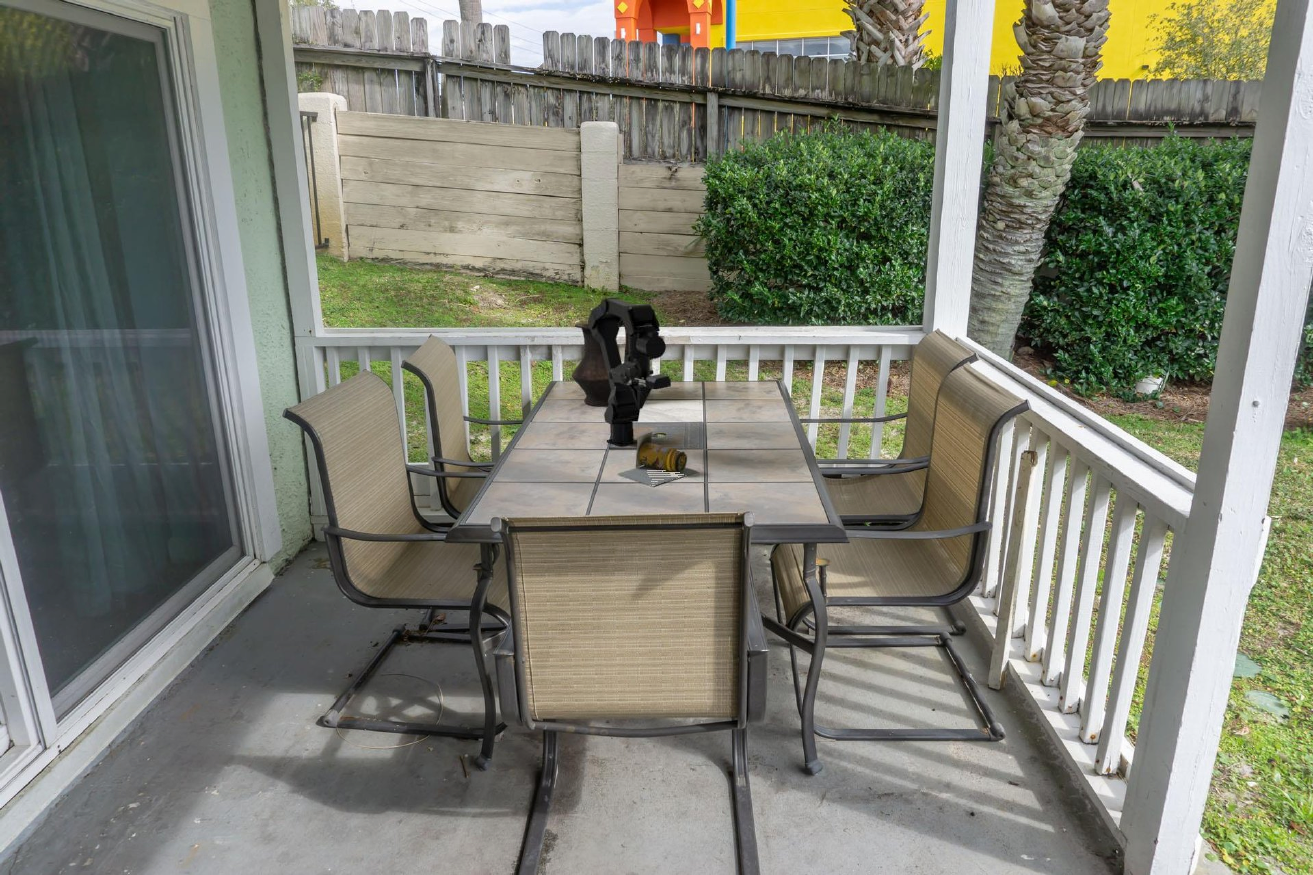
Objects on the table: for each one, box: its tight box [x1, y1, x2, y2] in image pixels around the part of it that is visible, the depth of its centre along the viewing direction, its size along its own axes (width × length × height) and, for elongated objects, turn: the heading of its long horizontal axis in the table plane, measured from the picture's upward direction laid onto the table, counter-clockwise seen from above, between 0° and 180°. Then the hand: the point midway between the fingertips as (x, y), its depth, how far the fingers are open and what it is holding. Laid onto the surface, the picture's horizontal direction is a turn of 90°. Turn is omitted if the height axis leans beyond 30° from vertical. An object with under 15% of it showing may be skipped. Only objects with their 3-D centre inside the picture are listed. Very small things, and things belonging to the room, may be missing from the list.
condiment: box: [635, 431, 688, 472], centre depth 231 cm, size 7×8×12 cm
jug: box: [571, 318, 629, 406], centre depth 296 cm, size 21×18×30 cm
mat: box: [617, 465, 698, 487], centre depth 230 cm, size 13×16×1 cm
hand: (639, 408), depth 242 cm, fingers closed
